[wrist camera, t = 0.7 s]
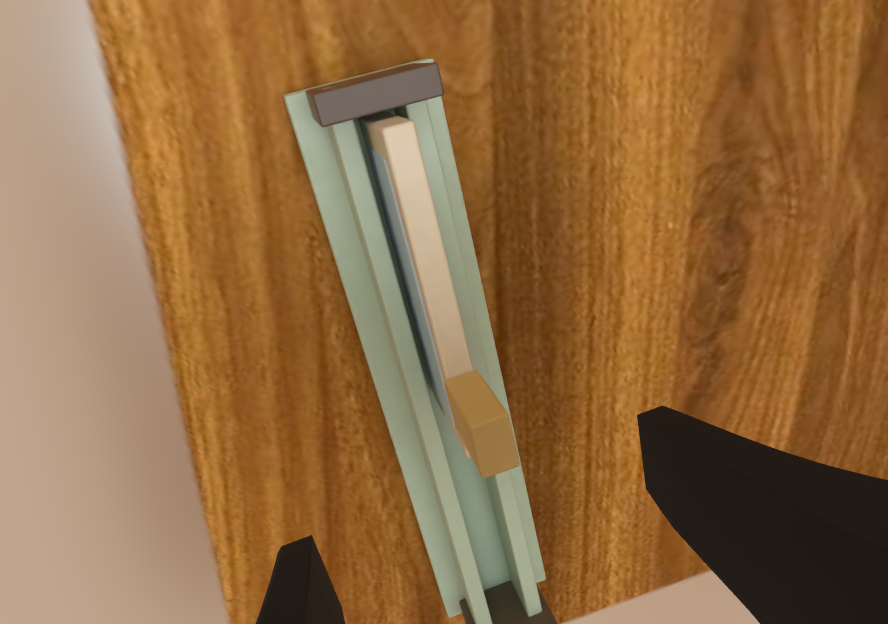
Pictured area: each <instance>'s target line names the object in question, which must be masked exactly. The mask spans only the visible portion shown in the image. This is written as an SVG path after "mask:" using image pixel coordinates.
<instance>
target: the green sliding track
mask: <svg viewBox="0 0 888 624" xmlns="http://www.w3.org/2000/svg"><path fill="white" fill-rule="evenodd" d="M443 95H444V90H443V86H442V81H441V76H440V72H439V67H438V64H437V63H436V62H434V61H433V59H431V58H429V59H420V60H416V61H412V62H408V63H405V64H401V65H397V66H393V67H389V68H385V69H381V70H377V71H373V72H369V73H366V74H362V75H358V76H354V77H350V78H346V79H342V80H338V81H334V82H330V83H327V84H323V85H319V86H315V87H311V88H307V89H303V90H299V91H295V92H291V93H287V94H284V95H283V97H284V101H285V104H286V107H287V110H288V113H289V116H290V120H291V123H292V126H293V129H294V132H295V135H296V139H297V142H298V145H299V148H300V151H301V154H302V157H303V161H304V164H305V167H306V170H307V173H308V176H309V180H310V183H311V186H312V189H313V192H314V195H315V199H316V202H317V205H318V208H319V211H320V214H321V218H322V221H323V224H324V227H325V230H326V233H327V237H328V240H329V243H330V246H331V249H332V252H333V256H334V259H335V262H336V265H337V268H338V271H339V275H340V278H341V281H342V284H343V287H344V290H345V294H346V297H347V300H348V303H349V306H350V309H351V313H352V316H353V319H354V322H355V325H356V328H357V332H358V335H359V338H360V341H361V344H362V347H363V351H364V354H365V357H366V360H367V363H368V366H369V370H370V373H371V376H372V379H373V382H374V385H375V389H376V392H377V395H378V398H379V401H380V404H381V408H382V411H383V414H384V417H385V420H386V423H387V427H388V430H389V433H390V436H391V439H392V442H393V446H394V449H395V452H396V455H397V458H398V461H399V465H400V468H401V471H402V474H403V477H404V480H405V484H406V487H407V490H408V493H409V496H410V499H411V503H412V506H413V509H414V512H415V515H416V518H417V522H418V525H419V528H420V531H421V534H422V537H423V541H424V544H425V547H426V550H427V553H428V556H429V560H430V563H431V566H432V569H433V572H434V575H435V579H436V582H437V585H438V588H439V591H440V594H441V598H442V601H443V604H444V606H445V609H446V612H447V615H448V617H449V618H451V617H453V616H456V615H458V614H461V613H462V614H463V617H464V619H465V622H466V624H557V622H556V620H555V618H554V616H553V614H552V612H551V610H550V609H549V607H548V605H547V603H546V601H545V599H544V597H543V595H542V593H541V592H540V590H539V588H538V586H537V584H536V583H538V582H541V581H543V580H545V579H546V577H545V572H544V567H543V563H542V558H541V554H540V549H539V544H538V540H537V535H536V531H535V526H534V521H533V517H532V512H531V508H530V503H529V498H528V494H527V489H526V484H525V480H524V475H523V471H522V466H521V461H520V457H519V452H518V448H517V443H516V438H515V434H514V429H513V425H512V420H511V415H510V411H509V406H508V402H507V397H506V392H505V388H504V383H503V379H502V374H501V369H500V365H499V360H498V355H497V351H496V346H495V342H494V337H493V332H492V328H491V323H490V319H489V314H488V309H487V305H486V300H485V296H484V291H483V286H482V282H481V277H480V273H479V268H478V263H477V259H476V254H475V250H474V245H473V240H472V236H471V231H470V226H469V222H468V217H467V213H466V208H465V203H464V199H463V194H462V190H461V185H460V180H459V176H458V171H457V167H456V162H455V157H454V153H453V148H452V144H451V139H450V134H449V130H448V125H447V121H446V116H445V111H444V107H443V102H442V97H441V96H443ZM383 111H386V112H388V113H391V114H394V115H397V116H400V117H403V118H406V119H409V120H411V121H413V122H414V123H415V127H416V131H417V135H418V140H419V144H420V148H421V152H422V156H423V161H424V165H425V169H426V173H427V177H428V182H429V186H430V190H431V194H432V199H433V203H434V207H435V211H436V215H437V220H438V224H439V228H440V232H441V236H442V241H443V245H444V249H445V253H446V257H447V262H448V266H449V270H450V274H451V278H452V283H453V287H454V291H455V295H456V299H457V304H458V308H459V312H460V316H461V321H462V325H463V329H464V333H465V337H466V342H467V346H468V350H469V354H470V358H471V363H472V367H473V371H474V370H478V372H479V373H480V374H481V376H482V377H483V379H484V380H485V382H486V383H487V384H488V386H489V387H490V389H491V390H492V391H493V393H494V394H495V396H496V397H497V398H498V400H499V401H500V403H501V404H502V406H503V407H504V408H505V410H506V411H507V413H508V414H509V417H510V422H511V427H512V431H513V436H514V440H515V445H516V449H517V454H518V459H519V466H518V467H515V468H512V469H510V470H507V471H504V472H502V473H499V474H496V475H493V476H491V477H488V478H483V477H482V476H481V474H480V472H479V470H478V469H477V467H476V465H475V463H474V461H473V459H472V458H470V459H468V458H467V457H466V456H465V454H464V452H463V450H462V448H461V446H460V444H459V442H458V441H457V439H456V437H455V435H454V433H453V431H452V429H451V427H450V425H449V423H448V421H447V419H446V417H445V416H444V414H443V412H442V410H441V408H440V406H439V404H438V402H437V400H436V398H435V396H434V394H433V390H432V387H431V383H430V379H429V376H428V372H427V368H426V365H425V361H424V357H423V354H422V350H421V346H420V343H419V339H418V335H417V332H416V328H415V324H414V321H413V317H412V313H411V310H410V306H409V302H408V299H407V295H406V291H405V288H404V284H403V280H402V277H401V273H400V269H399V266H398V262H397V258H396V255H395V251H394V247H393V244H392V240H391V236H390V233H389V229H388V225H387V222H386V218H385V214H384V211H383V207H382V203H381V200H380V196H379V192H378V189H377V185H376V181H375V178H374V174H373V170H372V167H371V163H370V159H369V156H368V152H367V148H366V145H365V141H364V137H363V134H362V130H361V126H360V123H359V118H361V117H364V116H368V115H372V114H376V113H379V112H383Z"/></svg>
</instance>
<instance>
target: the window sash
mask: <svg viewBox="0 0 888 624" xmlns="http://www.w3.org/2000/svg"><path fill="white" fill-rule="evenodd" d="M359 123H360V126H361V130H362V134H363V137H364V141H365V145H366V148H367V152H368V156H369V159H370V163H371V167H372V170H373V174H374V178H375V181H376V185H377V189H378V192H379V196H380V200H381V203H382V207H383V211H384V214H385V218H386V222H387V225H388V229H389V233H390V236H391V240H392V244H393V247H394V251H395V255H396V258H397V262H398V266H399V269H400V273H401V277H402V280H403V284H404V288H405V291H406V295H407V299H408V302H409V306H410V310H411V313H412V317H413V321H414V324H415V328H416V332H417V335H418V339H419V343H420V346H421V350H422V354H423V357H424V361H425V365H426V368H427V372H428V376H429V379H430V383H431V387H432V390H433V394H434V396H435V398H436V400H437V402H438V404H439V406H440V408H441V410H442V412H443V414H444V416H445V417H446V419H447V421H448V423H449V425H450V427H451V429H452V431H453V433H454V435H455V437H456V439H457V441H458V442H459V444H460V446H461V448H462V450H463V452H464V454H465V456H466V457H467V458H468V459H470V458H472V459H473V461H474V463H475V465H476V467H477V469H478V470H479V472H480V474H481V476H482V477H483V478H488V477H491V476H493V475H496V474H499V473H502V472H504V471H507V470H510V469H512V468H515V467H518V466H519V459H518V454H517V449H516V445H515V440H514V436H513V431H512V427H511V422H510V417H509V414H508V413H507V411H506V410H505V408H504V407H503V406H502V404H501V403H500V401H499V400H498V398H497V397H496V396H495V394H494V393H493V391H492V390H491V389H490V387H489V386H488V384H487V383H486V382H485V380H484V379H483V377H482V376H481V374H480V373H479V372H478V370H474V371H473V367H472V363H471V358H470V354H469V350H468V346H467V342H466V337H465V333H464V329H463V325H462V321H461V316H460V312H459V308H458V304H457V299H456V295H455V291H454V287H453V283H452V278H451V274H450V270H449V266H448V262H447V257H446V253H445V249H444V245H443V241H442V236H441V232H440V228H439V224H438V220H437V215H436V211H435V207H434V203H433V199H432V194H431V190H430V186H429V182H428V177H427V173H426V169H425V165H424V161H423V156H422V152H421V148H420V144H419V140H418V135H417V131H416V127H415V123H414V122H413V121H411V120H409V119H406V118H403V117H400V116H397V115H394V114H391V113H388V112H386V111H383V112H379V113H376V114H372V115H368V116H364V117H361V118H359Z"/></svg>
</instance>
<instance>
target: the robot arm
mask: <svg viewBox="0 0 888 624" xmlns="http://www.w3.org/2000/svg"><path fill="white" fill-rule="evenodd" d="M637 418H638V426H639V435H640V443H641V451H642V459H643V468H644V476H645V484H646V490H647V491H648V492H649V494H650V495H651V497H652V498H653V500H654V501H655V503H656V504H657V506H658V507H659V508H660V510H661V511H662V513H663V514H664V515H665V517H666V518H667V520H668V521H669V522H670V524H671V525H672V526H673V528H674V529H675V530H676V531H677V532H678V533H679V535H680V536H681V537H682V538H683V539H684V540H685V541H686V542H687V543H688V545H689V546H690V547H691V548H692V549H693V550H694V551H695V552H696V553H697V554H698V556H699V557H700V558H701V559H702V560H703V561H704V562H705V563H706V564H707V565H708V566H709V568H710V569H711V570H712V571H713V572H714V573H715V574H716V575H717V576H718V577H719V578H720V579H721V580H722V582H723V583H724V584H725V585H726V586H727V587H728V588H729V589H730V590H731V591H732V592H733V594H734V595H736V597H737V598H738V599H739V600H740V601H741V602H742V603H743V604H744V605H745V607H746V608H747V609H748V610H749V611H750V612H751V613H752V615H753V616H754V617H755V618H756V619H757V620H758V622H759V623H760V624H888V480H884V479H880V478H875V477H871V476H867V475H863V474H859V473H855V472H851V471H847V470H843V469H839V468H835V467H831V466H828V465H825V464H821V463H818V462H814V461H811V460H808V459H805V458H802V457H799V456H795V455H792V454H789V453H786V452H783V451H780V450H777V449H774V448H771V447H769V446H766V445H763V444H760V443H758V442H755V441H752V440H749V439H747V438H744V437H742V436H739V435H736V434H734V433H731V432H729V431H726V430H723V429H721V428H718V427H716V426H713V425H711V424H708V423H706V422H703V421H701V420H699V419H696V418H694V417H691V416H689V415H686V414H684V413H681V412H678V411H676V410H673V409H670V408H668V407H665V406H660V407H657V408H655V409H652V410H649V411H647V412H644V413H641V414H638V415H637ZM256 624H345V621H344V616H343V611H342V607H341V604H340V602H339V600H338V597H337V595H336V592H335V590H334V588H333V585H332V583H331V580H330V578H329V576H328V573H327V571H326V568H325V566H324V564H323V561H322V559H321V556H320V554H319V552H318V549H317V547H316V544H315V542H314V540H313V537H312V535H311V536H308V537H305V538H303V539H300V540H297V541H295V542H292V543H289V544H287V545H284V546H282V547H281V548H280V550H279V552H278V555H277V558H276V562H275V566H274V569H273V573H272V576H271V580H270V583H269V586H268V589H267V592H266V595H265V599H264V602H263V605H262V608H261V611H260V613H259V616H258V619H257V622H256Z"/></svg>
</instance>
